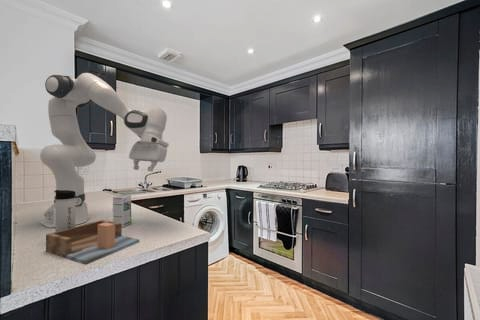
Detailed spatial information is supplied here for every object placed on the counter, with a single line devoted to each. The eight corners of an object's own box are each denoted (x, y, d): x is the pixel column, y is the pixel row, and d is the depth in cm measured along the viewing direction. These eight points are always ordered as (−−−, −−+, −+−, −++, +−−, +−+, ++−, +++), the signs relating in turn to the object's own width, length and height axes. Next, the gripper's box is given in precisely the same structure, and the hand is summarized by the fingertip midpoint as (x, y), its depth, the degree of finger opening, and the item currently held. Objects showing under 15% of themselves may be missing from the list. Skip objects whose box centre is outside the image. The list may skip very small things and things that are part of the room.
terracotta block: (97, 246, 78) (97, 224, 78) (105, 243, 81) (105, 222, 81) (106, 249, 76) (106, 226, 76) (114, 246, 79) (114, 224, 79)
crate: (45, 251, 76) (45, 234, 76) (102, 233, 95) (102, 219, 95) (85, 264, 67) (85, 244, 67) (139, 241, 86) (139, 226, 86)
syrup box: (123, 227, 103) (123, 196, 103) (112, 226, 105) (112, 196, 104) (131, 224, 109) (131, 194, 109) (121, 223, 110) (121, 194, 110)
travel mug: (57, 238, 88) (57, 189, 88) (77, 236, 91) (77, 188, 91) (51, 244, 83) (51, 191, 83) (72, 241, 85) (72, 190, 85)
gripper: (130, 138, 104) (121, 167, 100) (161, 139, 94) (152, 170, 91) (141, 143, 109) (133, 170, 106) (171, 144, 99) (163, 173, 96)
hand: (142, 170), depth 98 cm, fingers open, 8 cm apart
